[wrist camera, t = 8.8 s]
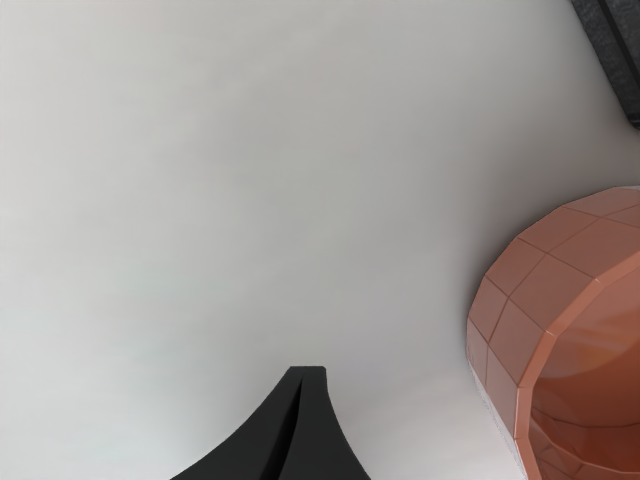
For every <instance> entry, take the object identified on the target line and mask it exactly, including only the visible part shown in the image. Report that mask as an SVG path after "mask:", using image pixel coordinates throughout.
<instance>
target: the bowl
mask: <svg viewBox="0 0 640 480" xmlns="http://www.w3.org/2000/svg"><path fill="white" fill-rule="evenodd" d="M466 355H467V356H466V357H467V360H468V363H469V366H470V368H471V371H472V374H473V377H474V380H475V383H476V386H477V389H478V391H479V393H480V395H481V397H482V398H483V400H484V402H485V404H486V406H487V408H488V410H489V412H490V413H491V415H492V417H493V419H494V421H495V423H496V425H497V427H498V428H499V430H500V432H501V434H502V436H503V438H504V440H505V442H506V444H507V445H508V447H509V449H510V451H511V453H512V455H513V457H514V459H515V461H516V462H517V464H518V466H519V468H520V470H521V472H522V474H523V476H524V477H525V479H526V480H640V185H637V186H621V187H614V188H610V189H607V190H604V191H601V192H598V193H595V194H592V195H589V196H587V197H584V198H581V199H578V200H575V201H572V202H569V203H567V204H564V205H561V207H558V208H556V209H555V210H553V211H552V212H550V213H549V214H548V215H546V216H545V217H543V218H542V219H540V220H539V221H537V222H536V223H534V224H533V225H532V226H530V227H529V228H527V229H526V230H524V231H523V232H521V233H520V234H518V235H517V236H516V237H515V238H514V239H513V240H512V241H511V243H510V244H509V245H508V246H507V248H506V249H505V250H504V251H503V252H502V254H501V255H500V256H499V257H498V258H497V260H496V261H495V262H494V263H493V264H492V266H491V267H490V268H489V269H488V270H487V272H486V273H485V275H484V277H483V279H482V281H481V284H480V286H479V289H478V291H477V294H476V296H475V299H474V301H473V304H472V306H471V309H470V311H469V316H468V317H467V343H466Z"/></svg>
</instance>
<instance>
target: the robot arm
mask: <svg viewBox="0 0 640 480" xmlns="http://www.w3.org/2000/svg"><path fill="white" fill-rule="evenodd" d="M170 480H371V479H370V477H369V476H368V475H367V473H366V472H365V470H364V469H363V467H362V465H361V464H360V462H359V461H358V459H357V458H356V456H355V454H354V453H353V451H352V449H351V447H350V446H349V444H348V442H347V440H346V438H345V436H344V434H343V432H342V430H341V428H340V425H339V423H338V421H337V418H336V415H335V413H334V410H333V407H332V404H331V401H330V398H329V394H328V389H327V376H326V369H325V368H324V367H323V366H293V367H290V368H289V369H288V370H287V372H286V373H285V374H284V376H283V377H282V378H281V380H280V381H279V383H278V384H277V385H276V386H275V388H274V389H273V390H272V392H271V393H270V394H269V395H268V396H267V398H266V399H265V400H264V401H263V403H262V404H261V405H260V406H259V407H258V408H257V409H256V410H255V412H254V413H253V414H252V415H251V416H250V417H249V418H248V419H247V420H246V421H245V422H244V423H243V424H242V425H241V426H240V427H239V428H238V429H237V430H236V431H235V432H234V433H233V434H232V435H231V436H230V437H229V438H227V439H226V440H225V441H224V442H222V443H221V444H220V445H219V446H217V447H216V448H215V449H214V450H212V451H211V452H210V453H208V454H207V455H206V456H205V457H203V458H202V459H201V460H199V461H198V462H196V463H195V464H193V465H192V466H190V467H189V468H187V469H186V470H184V471H183V472H181V473H180V474H178V475H176V476H175V477H173V478H172V479H170Z"/></svg>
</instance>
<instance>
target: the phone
mask: <svg viewBox="0 0 640 480" xmlns="http://www.w3.org/2000/svg"><path fill="white" fill-rule="evenodd" d="M571 1H572V3H573V5H574V7H575V9H576V11H577V13H578V16H579V18H580V20H581V22H582V24H583V26H584V28H585V30H586V32H587V34H588V36H589V38H590V40H591V42H592V44H593V47H594V49H595V51H596V53H597V55H598V57H599V59H600V61H601V63H602V65H603V67H604V69H605V71H606V73H607V75H608V78H609V80H610V82H611V84H612V86H613V88H614V90H615V92H616V94H617V96H618V98H619V100H620V102H621V104H622V106H623V108H624V111H625V113H626V115H627V117H628V119H629V120H630V122H631V123H632V124H633V126H634V127H635V128H637V129H639V130H640V0H571Z"/></svg>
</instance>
